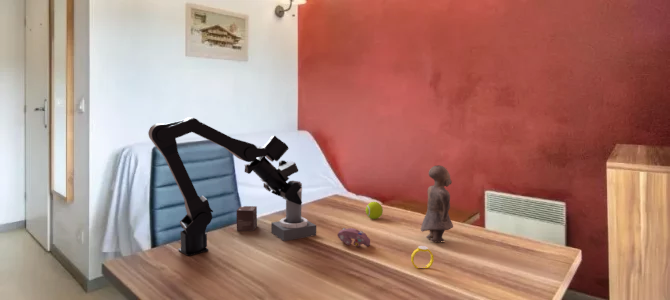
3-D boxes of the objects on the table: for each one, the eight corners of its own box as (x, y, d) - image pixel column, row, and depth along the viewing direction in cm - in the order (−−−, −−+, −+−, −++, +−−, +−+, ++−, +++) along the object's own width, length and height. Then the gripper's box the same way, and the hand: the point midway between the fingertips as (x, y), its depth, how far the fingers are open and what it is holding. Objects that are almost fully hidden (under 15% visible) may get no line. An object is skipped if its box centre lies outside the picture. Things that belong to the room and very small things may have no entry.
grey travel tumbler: (296, 224, 133) (297, 184, 131) (282, 222, 135) (282, 182, 133) (304, 220, 138) (304, 181, 136) (290, 218, 140) (290, 180, 138)
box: (253, 231, 139) (253, 210, 138) (236, 230, 139) (236, 210, 138) (257, 226, 145) (257, 206, 144) (240, 225, 145) (240, 205, 144)
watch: (430, 266, 112) (432, 246, 111) (433, 270, 109) (436, 249, 108) (409, 265, 111) (411, 245, 110) (412, 269, 108) (414, 248, 108)
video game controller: (338, 247, 129) (334, 231, 125) (344, 238, 132) (340, 222, 129) (367, 253, 124) (363, 236, 121) (372, 243, 128) (368, 226, 124)
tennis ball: (362, 217, 159) (363, 200, 158) (378, 215, 161) (378, 199, 160) (369, 221, 153) (369, 204, 152) (385, 220, 155) (385, 203, 154)
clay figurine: (459, 246, 127) (463, 168, 125) (430, 248, 125) (434, 169, 123) (440, 233, 140) (443, 162, 137) (413, 235, 138) (416, 163, 135)
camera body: (283, 241, 129) (283, 226, 129) (271, 232, 138) (271, 219, 137) (316, 235, 136) (316, 221, 135) (302, 227, 144) (302, 214, 144)
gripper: (296, 157, 124) (326, 189, 131) (272, 150, 139) (300, 179, 146) (272, 184, 120) (304, 215, 127) (250, 174, 136) (280, 203, 143)
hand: (297, 201), depth 136 cm, fingers closed on grey travel tumbler, 5 cm apart
